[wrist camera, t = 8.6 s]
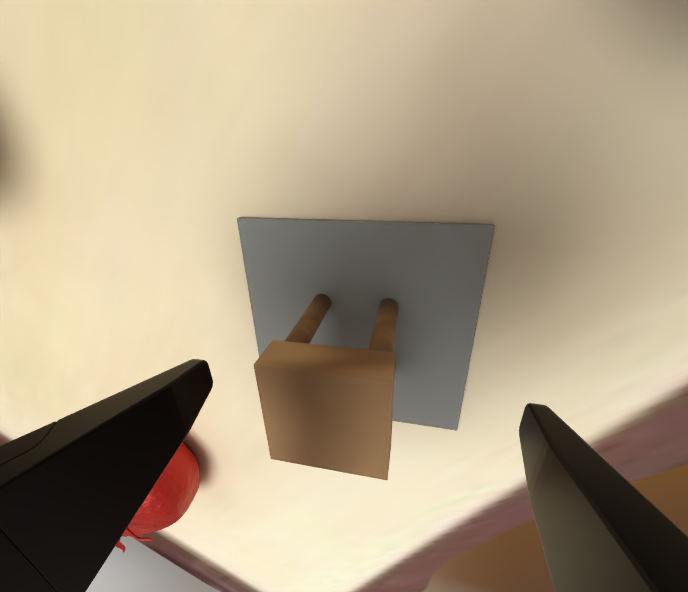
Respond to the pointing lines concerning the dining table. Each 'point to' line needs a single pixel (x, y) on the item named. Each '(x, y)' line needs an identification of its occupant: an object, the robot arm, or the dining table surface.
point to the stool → (330, 396)
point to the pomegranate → (167, 496)
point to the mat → (377, 296)
